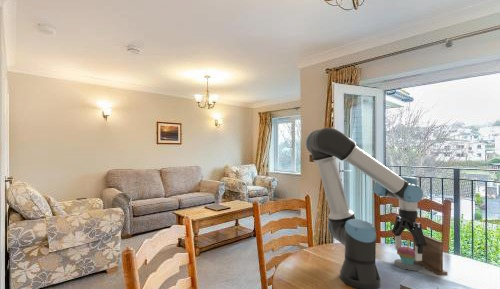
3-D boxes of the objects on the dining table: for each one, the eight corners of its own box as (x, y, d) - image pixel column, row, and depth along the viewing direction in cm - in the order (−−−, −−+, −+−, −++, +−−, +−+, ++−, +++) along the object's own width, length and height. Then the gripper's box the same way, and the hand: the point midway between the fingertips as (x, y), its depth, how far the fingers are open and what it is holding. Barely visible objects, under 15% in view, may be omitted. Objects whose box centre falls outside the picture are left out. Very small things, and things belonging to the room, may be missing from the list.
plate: (404, 271, 116) (405, 268, 116) (389, 261, 127) (389, 258, 127) (427, 270, 117) (427, 268, 117) (410, 260, 128) (410, 258, 128)
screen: (436, 274, 113) (436, 242, 114) (409, 259, 130) (409, 231, 131) (447, 274, 114) (447, 242, 114) (418, 259, 131) (418, 231, 131)
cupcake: (420, 267, 118) (421, 240, 118) (400, 265, 119) (400, 239, 120) (412, 260, 126) (413, 235, 126) (393, 258, 128) (394, 233, 128)
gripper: (436, 215, 111) (436, 265, 110) (397, 204, 136) (397, 245, 135) (420, 215, 110) (420, 265, 110) (384, 204, 135) (384, 245, 134)
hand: (407, 254), depth 122 cm, fingers open, 13 cm apart
